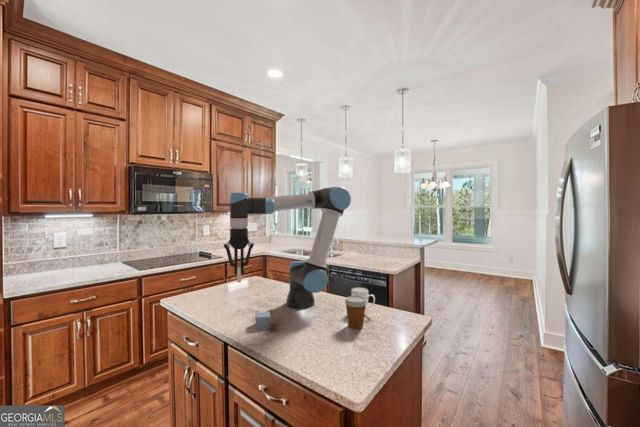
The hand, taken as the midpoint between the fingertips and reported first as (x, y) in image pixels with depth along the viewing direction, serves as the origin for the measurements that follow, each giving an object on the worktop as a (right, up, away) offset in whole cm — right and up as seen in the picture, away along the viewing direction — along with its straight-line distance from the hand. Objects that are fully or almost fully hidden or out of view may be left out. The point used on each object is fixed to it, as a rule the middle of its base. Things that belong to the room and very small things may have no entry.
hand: (239, 281), depth 126 cm
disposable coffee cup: (+51, -20, 0) cm, 55 cm away
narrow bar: (+15, -19, +1) cm, 24 cm away
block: (+11, -19, -1) cm, 22 cm away
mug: (+57, -20, +15) cm, 62 cm away
